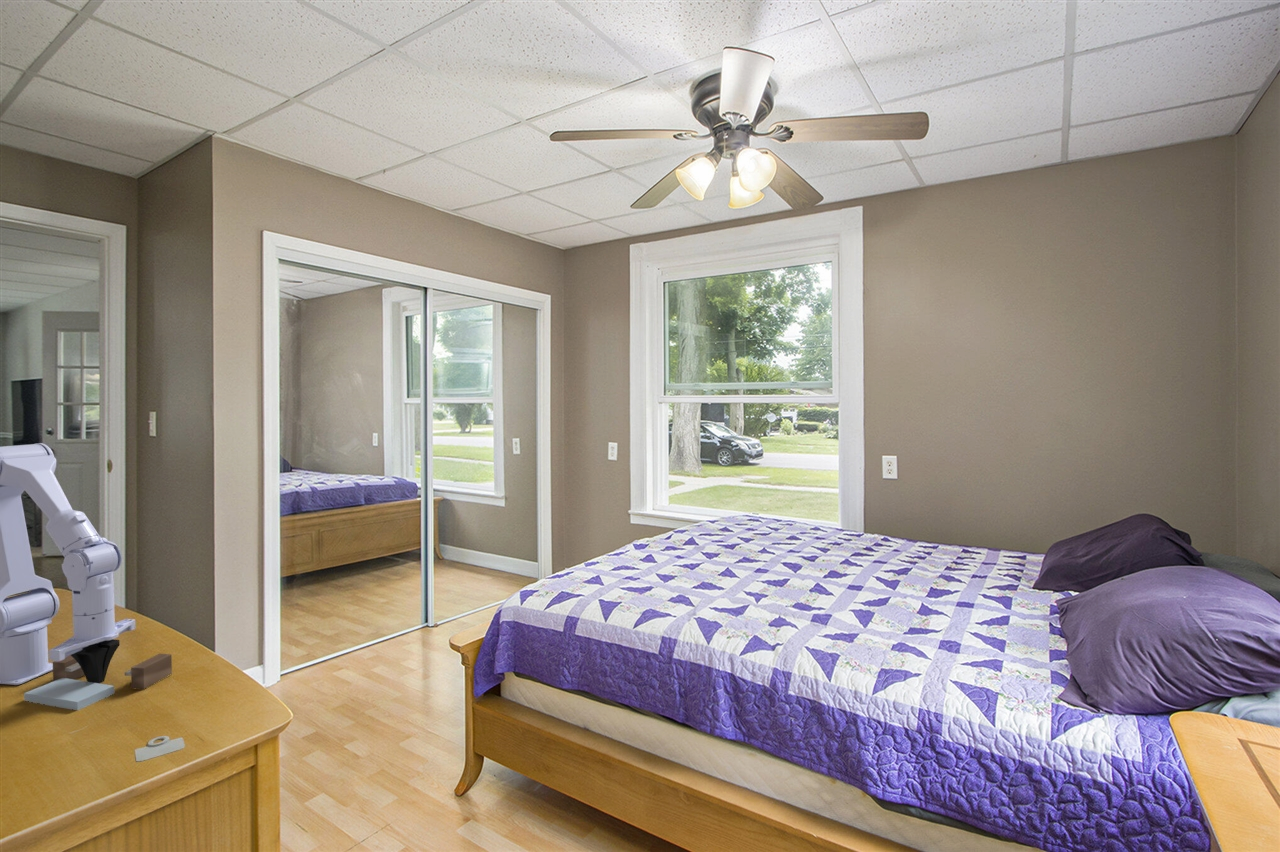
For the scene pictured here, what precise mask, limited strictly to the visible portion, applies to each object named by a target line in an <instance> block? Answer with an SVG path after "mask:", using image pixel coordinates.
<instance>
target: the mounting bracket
mask: <svg viewBox="0 0 1280 852" xmlns="http://www.w3.org/2000/svg"><path fill="white" fill-rule="evenodd" d="M159 740H162V741H160V742H156V741H159ZM146 745H147V746H143V747H139V748H136V749H135V748H134V753H135V762H139V763H140V762H144V761H148V760H150V759H155V758H157V757H162V756H164V755H167V754H170V753H174V752H178V751H181V750H183V749H184V748H185V747H186V745H185V741H184V738H183V737H182V736H181V737H177V738H175V739H174V738H173V739H170V737H169V736H168V735H161V736H157V737H154V738H151V739H149V741H148V743H147V744H146Z"/></svg>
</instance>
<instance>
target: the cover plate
mask: <svg viewBox="0 0 1280 852" xmlns="http://www.w3.org/2000/svg"><path fill="white" fill-rule="evenodd" d="M23 694H24V695H23V698H24V699H23V700H24V702H25V701H29V702H28V703H31V702H33V704H37V703H40V704H39V705H43V704H45V705H44V706H50V707H55V706H56V708H61V709H66V710H72V709H73V710H72V711H80V710H82V709H84V708H86V707H88V706H91V705H93V704H95V703H97V702H99V700H100V701H102V700H104V699H106V698H108V697H110V695H111V696H112V694H113V695H114V694H115V685H112V684H106V683H100V684H99V683H93V682H87V680H78V679H75V680H74V679H67V678H61V679H58V680H56V681H53V680H52V681H51V682H49V683H45V684H44V685H40V686H38V687H36V688H33V689H31V690H28V691H26V692H24V693H23ZM105 697H106V698H105ZM101 699H102V700H101Z"/></svg>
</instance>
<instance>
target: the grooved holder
mask: <svg viewBox="0 0 1280 852" xmlns="http://www.w3.org/2000/svg"><path fill="white" fill-rule="evenodd" d="M172 660H173V659H172V654H171V653H170V654H169V653H157V654H156V655H154V656H152V657H150V658H147V659H146V660H144V661H142V662H139V663H137V664H135V665H133V666H131V667H130V669H128V670H127V671H126V670H125V672H124V676H126V677H127V676H129V677H131V681H130V682H131V689H132V688H133V689H132V690H146V689H148V688H150V687H151V685H152V686H153V685H155V684H157V683H159V682H160V681H159V680H161V679H163V678H165V677H166V678H168V677H169V676H168V675H170V674H173V672H172V670H173V669H172V668H173V666H172V664H173V663H172ZM52 663H53V670H52V682H53V681H56V680H58V679H61V678H67V679H74V680H78V679H79V678H81V677H83V676H85V675H84V672H83V670H82V668H81V667H80V665H79V664H78V662H77V661H76V660H75V659H74V658H73V657H72V656H71V655H69V656H67V657H65V659H64V660H61V661H52ZM167 676H168V677H167ZM170 676H171V675H170ZM166 678H165V679H166ZM163 680H164V679H163ZM158 681H159V682H158ZM161 681H162V680H161ZM156 682H157V683H156ZM154 683H155V684H154ZM149 686H150V687H149ZM147 687H148V688H147ZM134 688H136V689H134ZM145 688H146V689H145Z"/></svg>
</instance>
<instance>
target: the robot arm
mask: <svg viewBox="0 0 1280 852" xmlns="http://www.w3.org/2000/svg"><path fill="white" fill-rule="evenodd" d="M56 469H57V458H56V457H55V454H54V452H53V450H52V449H51V447H49V446H48V445H47V444H45V443H42V442H38V443H37V442H36V443H34V444H20V445H19V444H18V445H6V446H5V445H4V446H0V684H1V685H12V686H13V685H14V686H18V685H21V684H24V683H27V682H29V681H30V680H33V679H35V678H37V677H40V676H43V675H45V674H47V673H50V672H53V662H54V661H61V660H64V659H65V657H67V656H69V655H71V656H72V657H73V658H74V659H75V660H76V661H77V662H78V664H79V665H80V667H81V668H82V670H83V672H84V675H83V676H85V679H86V680H85V681H87V682H93V683H99V684H103V682H105V680H106V676H107V673H108V669H109V666H110V663H111V661H112V658H113V657H114V655H115V652H116V651H117V649H118V648H119V646H120V640H119V639H117V638H119V636H120V635H121V634H123V633H125V632H131V631H134V630H136V619H134V618H125V619H122V620H120V621H117V622H116V621H115V619H116V618H115V617H116V616H115V613H116V612H115V585H114V584H115V583H114V580H115V579H114V572H116V571H118V569H120V567H121V564H122V559H123V557H122V553H121V550H120V549H119V546H118V545H117V543H115V542H113V541H111V540H108V539H107V538H106V537H102V536H101V535H100V534H99V532H97V530H96V529H95V526H94V525H93V524H92V523H91V521H90V519H89V518H88V517H87V515H86V513H85V512H84V511H80V510H76V509H75V510H74V509H73V508H72V505H71V504H70V502H69V500H68V498H67V496H66V494H65V493H64V490H63V488H62V486H61V485H60V482H59V481H58V479H57V477H56V475H55V471H56ZM24 492H25V493H26V494H28V496H29V497H30V498H31V499H32V501H33V502H34V503H35V504H36V506H37V507H38V508H39V509H40V510H41V512H42V513H43V514H44V515H45V516H46V517H47V519H48V521H47V523H46V525H45V530H46V532H47V533H48V535H49V537H51V539H52V541H53V542H54V544H55V546H56V547H57V548H58V550H59V551H60V553H61V554H62V556H63V557H64V559H63V562H62V563H61V570H62V573H63V574H64V576H65V578H66V582H67V587H68V589H69V590H71V595H72V596H71V597H72V598H71V599H72V600H71V602H72V624H73V625H72V626H73V627H72V632H73V636H71V637H69V638H68V639H66V640H65V641H63V642H61V643H60V644H58V645H56V646H54V647H52V648H51V649H49V648H48V647H49V646H48V645H49V644H48V643H49V641H48V625H50V624H52V623H53V622H52V619H53V618H55V617H56V615H57V614H58V612H59V609H60V598H59V596H58V595H57V593H56V592H55V590H54V587H53V583H52V581H51V580H50V579H47V578H44V577H41V576H39V575H36V573H35V568H34V567H35V566H34V561H33V557H32V556H33V555H32V551H31V545H30V540H29V534H28V529H27V528H28V527H27V524H26V519H25V511H24V505H23V501H22V500H23V499H22V494H23V493H24ZM28 591H29V592H28ZM50 661H51V662H50Z"/></svg>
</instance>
